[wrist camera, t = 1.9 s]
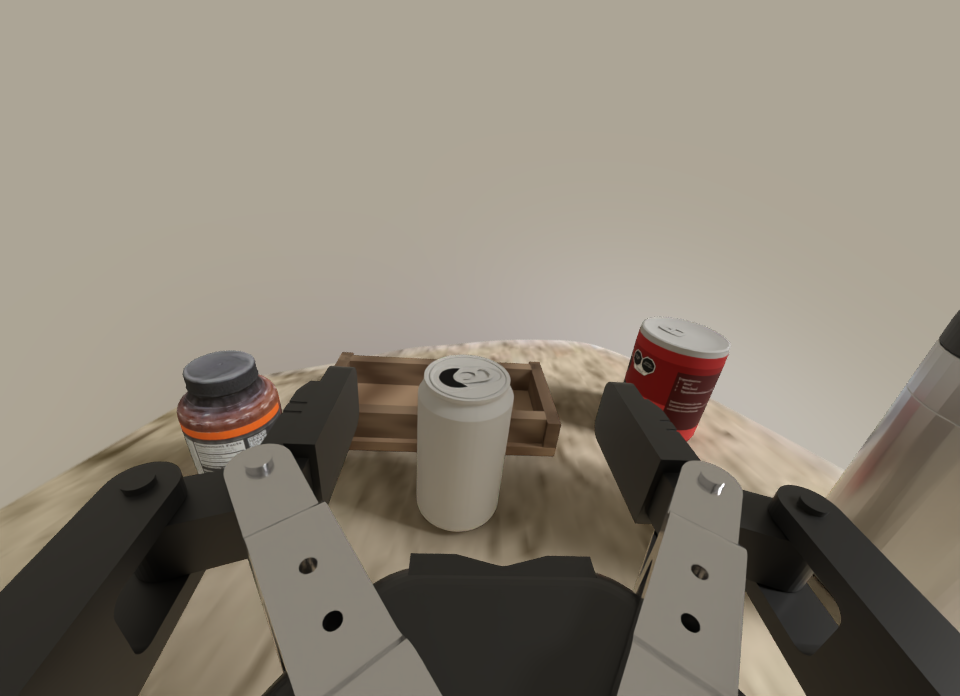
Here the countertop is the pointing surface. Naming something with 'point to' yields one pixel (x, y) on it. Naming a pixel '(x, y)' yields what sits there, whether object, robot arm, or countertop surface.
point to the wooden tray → (395, 405)
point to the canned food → (677, 368)
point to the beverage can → (462, 440)
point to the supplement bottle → (225, 408)
